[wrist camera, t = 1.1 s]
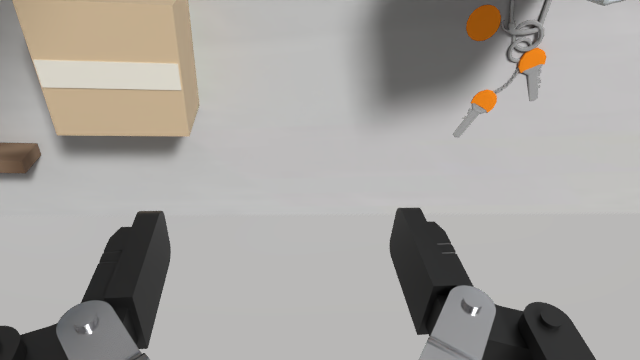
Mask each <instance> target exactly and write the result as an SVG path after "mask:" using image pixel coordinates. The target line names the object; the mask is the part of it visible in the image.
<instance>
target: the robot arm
mask: <svg viewBox="0 0 640 360" xmlns="http://www.w3.org/2000/svg"><path fill="white" fill-rule="evenodd" d="M390 254H391V258H392V261H393V264H394V267H395V269H396V273H397V276H398V279H399V281H400V285H401V287H402V290H403V294H404V296H405V299H406V302H407V305H408V308H409V311H410V314H411V317H412V320H413V323H414V326H415V329H416V332H417V335H422V334H429V336H430V337H429V338H428V340H427V343H426V345H425V347H424V349H423V351H422V354H421V356H420V358H419V360H596V359H595V357H594V356H593V354H592V352H591V351H590V349H589V348H588V346H587V345H586V343H585V341H584V340H583V338H582V337H581V335H580V333H579V332H578V330H577V329H576V327H575V326H574V324H573V322H572V321H571V320H570V318H569V317H568V316H567V315H566V314H565V313H564V312H563V311H561V310H560V309H558V308H556V307H555V306H552V305H550V304H547V303H542V302H534V303H531V304H529V305H528V306H527V307H526V308H525V310H524V311H519V310H515V309H510V308H506V307H502V306H498V305H496V304H494V303H493V301H492V299H491V298H490V297H489V296H488V295H487V294H486V293H485V292H483V291H482V290H480V289H477V288H475V287H473V285H472V283H471V281H470V279H469V277H468V275H467V273H466V271H465V269H464V267H463V265H462V263H461V261H460V259H459V258H458V256H457V254H455V250H454V248H453V246H452V245H451V242H450V240H449V239H448V236H447V235H446V232H445V231H444V230H443V229H442V228H441V227H440V226H439V225H437V224H436V223H435V222H427V221H426V219H425V217H424V215H423V212H422V210H421V209H420V208H398V209H397V211H396V215H395V220H394V225H393V229H392V234H391V238H390ZM169 262H170V241H169V237H168V232H167V226H166V221H165V216H164V213H163V211H139V212H138V213H137V215H136V217H135V220H134V222H133V225H132V227H121V228H120V229H119V230H118V231H117V232H116V233H115V234H114V235H113V236H112V237H110V239H109V241H108V243H107V245H106V248H105V250H104V253H103V254H102V257H101V259H100V263H99V264H98V266H97V268H96V270H95V273H94V275H93V277H92V279H91V281H90V284H89V286H88V288H87V290H86V293H85V295H84V297H83V299H82V302H81V303H80V304H78V305H76V306H74V307H72V308H71V309H70V310H68V311H67V312H66V313H65V314H64V315H63V316H62V317H61V319H60V320H59V322H58V323H57V324H54V325H52V326H49V327H46V328H42V329H39V330H36V331H32V332H29V333H26V334H22V335H20V334H19V333H18V331H17V330H16V329H14V328H12V327H9V326H0V360H150V359H149V358H148V356H147V355H146V354H145V353H143V354H142V353H141V352H140V351H139V349H147V348H148V345H149V340H150V337H151V333H152V329H153V325H154V321H155V317H156V313H157V309H158V306H159V301H160V298H161V294H162V290H163V286H164V282H165V278H166V274H167V270H168V266H169Z"/></svg>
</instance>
